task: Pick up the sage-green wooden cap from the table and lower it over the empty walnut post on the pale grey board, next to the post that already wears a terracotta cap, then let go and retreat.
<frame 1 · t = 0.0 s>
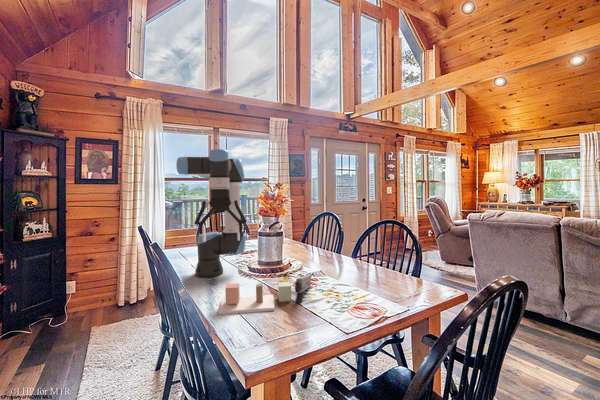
hand: (221, 240, 122), 28 cm above the table, tool pointing down, fingers open, 13 cm apart
sage cap: (284, 299, 132), on the table
stand: (247, 305, 126), on the table
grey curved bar: (303, 295, 137), on the table
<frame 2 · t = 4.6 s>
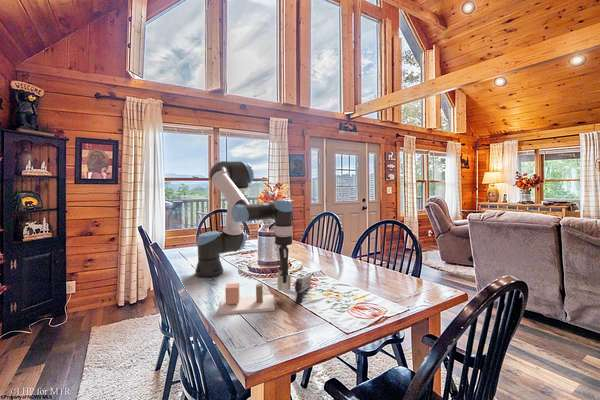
hand: (283, 287, 132), 5 cm above the table, tool pointing down, fingers closed on sage cap, 5 cm apart
sage cap: (283, 287, 132), point 5 cm above the table, touching gripper
everything else where it was.
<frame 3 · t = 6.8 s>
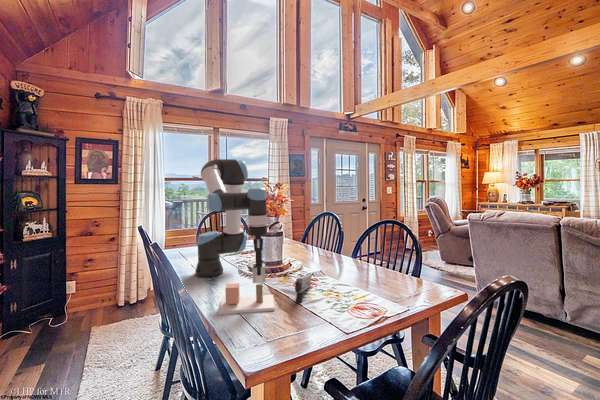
hand: (259, 280, 126), 10 cm above the table, tool pointing down, fingers closed on sage cap, 5 cm apart
sage cap: (259, 280, 126), point 10 cm above the table, touching gripper
everything else where it was.
when the fingers open (2 cm above the table, at t = 8.9 s): sage cap stays where it is, resting on stand.
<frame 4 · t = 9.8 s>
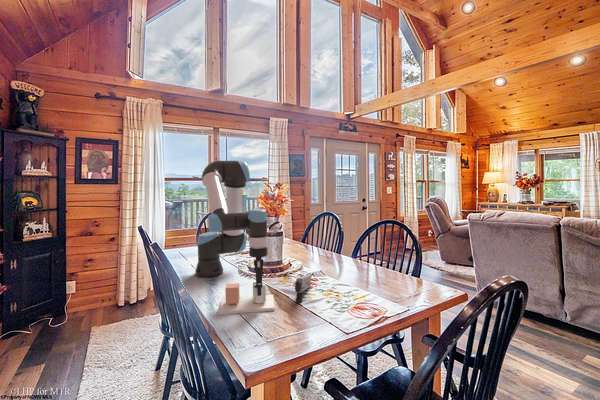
hand: (259, 296, 126), 4 cm above the table, tool pointing down, fingers open, 13 cm apart
sage cap: (259, 299, 126), point 2 cm above the table, touching stand
everything else where it was.
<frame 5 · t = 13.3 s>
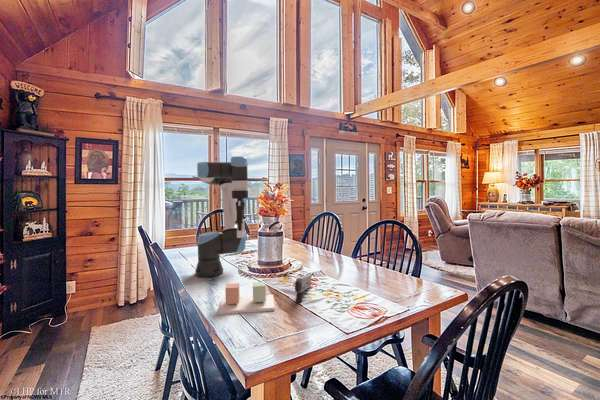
hand: (241, 235, 142), 27 cm above the table, tool pointing down, fingers open, 13 cm apart
nothing on the table moved.
at the end: sage cap 0.1 cm from the target spot, point 2.2 cm above the table; sage cap tilted 0°; the gripper is holding nothing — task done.
